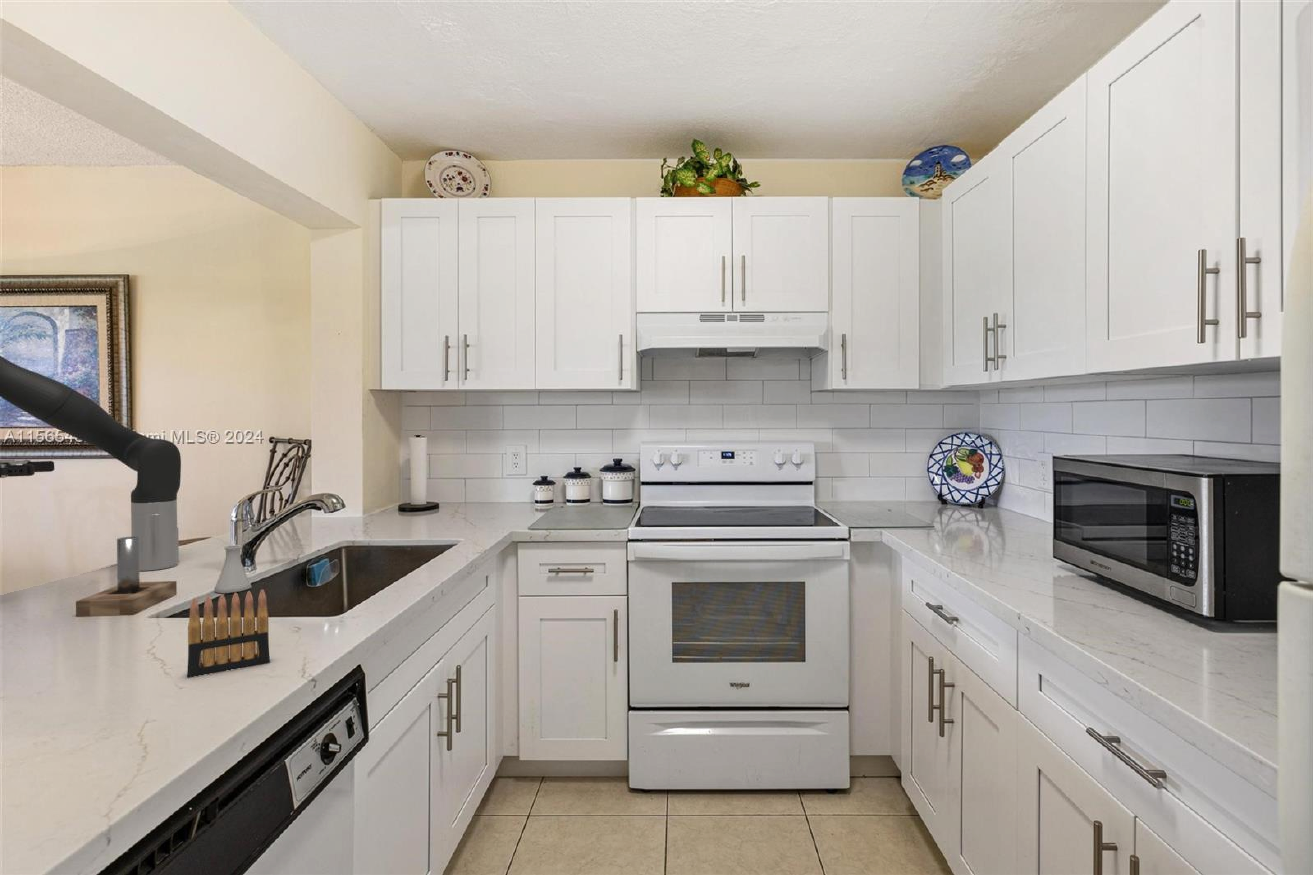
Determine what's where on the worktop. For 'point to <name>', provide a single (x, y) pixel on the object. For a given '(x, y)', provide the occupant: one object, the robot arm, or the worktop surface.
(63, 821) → the worktop surface
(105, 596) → the hole block
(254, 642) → the ammunition clip
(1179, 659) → the worktop surface
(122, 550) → the peg
